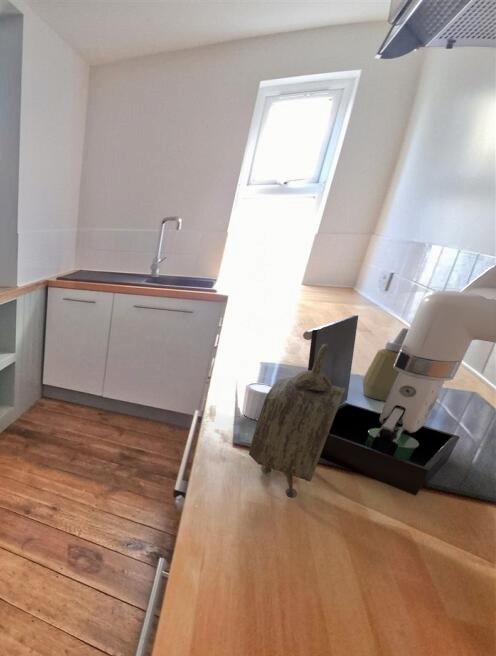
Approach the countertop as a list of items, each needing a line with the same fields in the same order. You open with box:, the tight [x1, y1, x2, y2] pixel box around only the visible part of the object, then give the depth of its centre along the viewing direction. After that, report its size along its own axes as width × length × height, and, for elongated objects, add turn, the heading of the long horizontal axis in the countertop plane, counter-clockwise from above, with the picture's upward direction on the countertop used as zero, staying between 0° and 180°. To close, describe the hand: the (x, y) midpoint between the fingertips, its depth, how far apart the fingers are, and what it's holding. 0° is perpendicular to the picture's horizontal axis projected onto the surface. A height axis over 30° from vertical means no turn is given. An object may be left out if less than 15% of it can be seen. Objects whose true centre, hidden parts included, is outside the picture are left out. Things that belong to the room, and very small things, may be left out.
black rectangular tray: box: [319, 401, 461, 496], centre depth 79 cm, size 18×20×6 cm
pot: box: [365, 428, 419, 461], centre depth 77 cm, size 7×7×5 cm
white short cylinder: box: [241, 382, 273, 420], centre depth 95 cm, size 7×7×7 cm
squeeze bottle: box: [362, 327, 409, 402], centre depth 102 cm, size 8×8×18 cm
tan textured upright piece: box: [248, 344, 345, 499], centre depth 70 cm, size 14×9×25 cm, turn 136°
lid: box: [302, 314, 359, 405], centre depth 84 cm, size 18×20×5 cm
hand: (386, 452), depth 78 cm, fingers closed on pot, 7 cm apart
